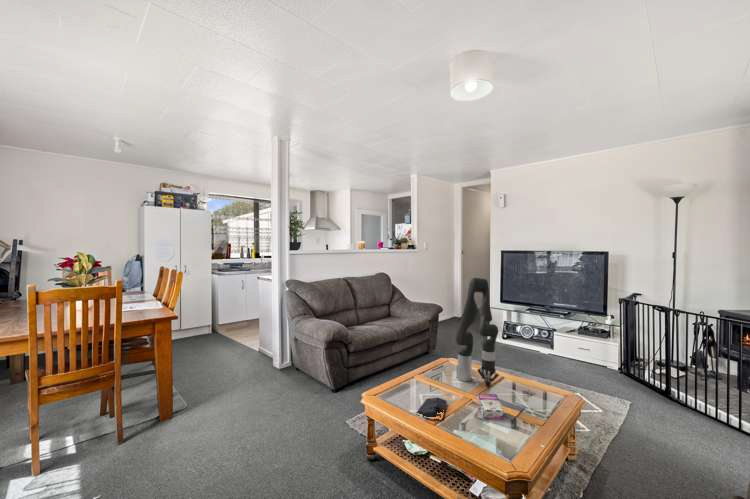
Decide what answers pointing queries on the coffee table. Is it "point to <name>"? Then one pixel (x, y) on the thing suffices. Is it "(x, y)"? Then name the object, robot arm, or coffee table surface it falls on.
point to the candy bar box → (490, 406)
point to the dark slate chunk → (432, 407)
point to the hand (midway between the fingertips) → (488, 387)
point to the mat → (512, 406)
